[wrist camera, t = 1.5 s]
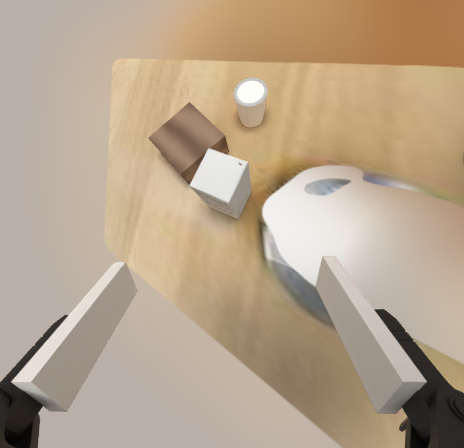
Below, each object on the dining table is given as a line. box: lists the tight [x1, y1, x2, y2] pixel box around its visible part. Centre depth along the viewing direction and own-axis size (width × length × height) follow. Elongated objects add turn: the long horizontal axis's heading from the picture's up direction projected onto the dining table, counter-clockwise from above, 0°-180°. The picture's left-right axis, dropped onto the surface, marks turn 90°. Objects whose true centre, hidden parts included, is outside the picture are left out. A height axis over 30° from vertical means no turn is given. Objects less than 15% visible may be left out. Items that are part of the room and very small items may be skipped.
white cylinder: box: [234, 78, 267, 128], centre depth 41 cm, size 7×7×7 cm
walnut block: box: [149, 102, 229, 184], centre depth 42 cm, size 12×12×6 cm
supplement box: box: [190, 149, 252, 219], centre depth 35 cm, size 7×7×13 cm
